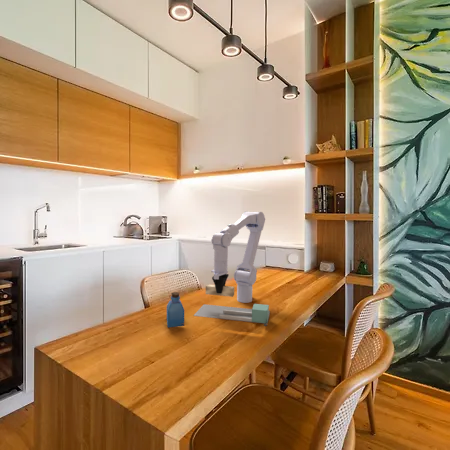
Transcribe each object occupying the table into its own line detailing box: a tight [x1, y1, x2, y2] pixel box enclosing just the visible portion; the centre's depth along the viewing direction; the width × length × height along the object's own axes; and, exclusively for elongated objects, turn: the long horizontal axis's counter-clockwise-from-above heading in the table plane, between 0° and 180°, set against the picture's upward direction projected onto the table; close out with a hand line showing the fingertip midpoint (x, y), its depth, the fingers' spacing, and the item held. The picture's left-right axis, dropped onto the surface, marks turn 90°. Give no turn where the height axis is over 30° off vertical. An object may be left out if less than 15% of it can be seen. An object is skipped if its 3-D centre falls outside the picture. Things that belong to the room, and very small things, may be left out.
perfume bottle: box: [166, 291, 185, 328], centre depth 112 cm, size 6×6×12 cm
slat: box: [205, 283, 235, 298], centre depth 124 cm, size 12×3×4 cm, turn 76°
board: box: [193, 303, 271, 327], centre depth 121 cm, size 14×30×6 cm, turn 77°
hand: (220, 292), depth 124 cm, fingers closed on slat, 3 cm apart
